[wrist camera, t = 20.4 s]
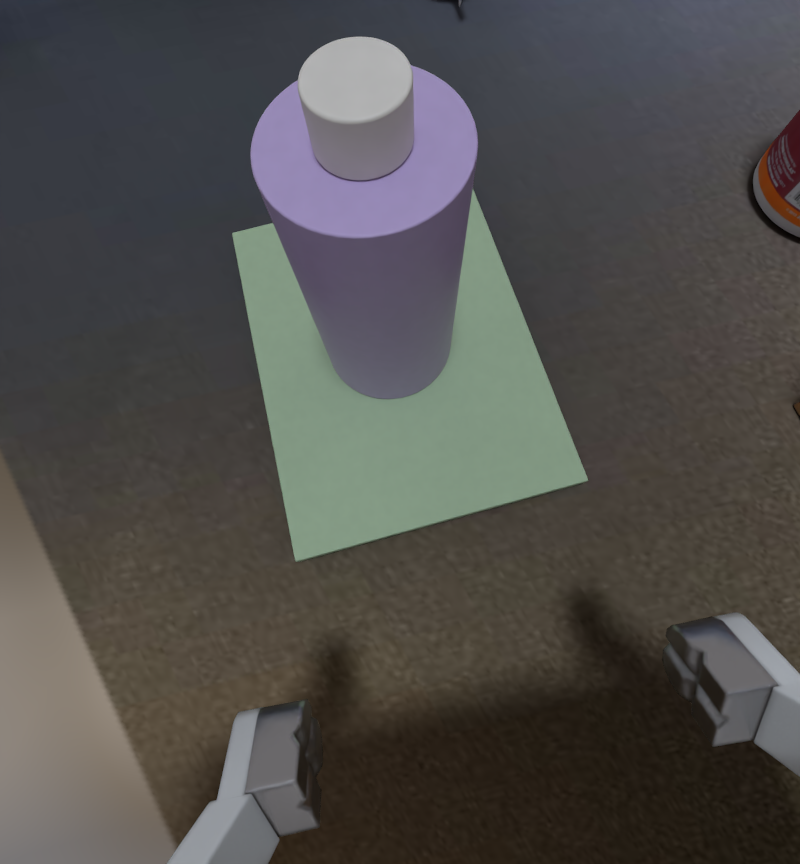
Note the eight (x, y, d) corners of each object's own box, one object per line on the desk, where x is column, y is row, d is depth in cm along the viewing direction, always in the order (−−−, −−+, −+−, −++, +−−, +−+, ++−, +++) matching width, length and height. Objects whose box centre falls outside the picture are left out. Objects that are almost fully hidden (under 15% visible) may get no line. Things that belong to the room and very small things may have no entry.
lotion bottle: (448, 401, 20) (487, 184, 9) (322, 397, 20) (202, 180, 9) (451, 291, 21) (488, -15, 10) (334, 288, 21) (245, -13, 10)
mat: (583, 483, 19) (588, 480, 18) (299, 562, 18) (294, 561, 18) (466, 183, 24) (467, 174, 23) (236, 241, 23) (231, 232, 22)
